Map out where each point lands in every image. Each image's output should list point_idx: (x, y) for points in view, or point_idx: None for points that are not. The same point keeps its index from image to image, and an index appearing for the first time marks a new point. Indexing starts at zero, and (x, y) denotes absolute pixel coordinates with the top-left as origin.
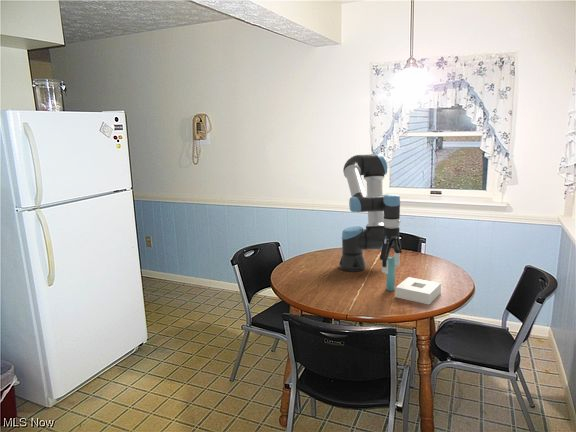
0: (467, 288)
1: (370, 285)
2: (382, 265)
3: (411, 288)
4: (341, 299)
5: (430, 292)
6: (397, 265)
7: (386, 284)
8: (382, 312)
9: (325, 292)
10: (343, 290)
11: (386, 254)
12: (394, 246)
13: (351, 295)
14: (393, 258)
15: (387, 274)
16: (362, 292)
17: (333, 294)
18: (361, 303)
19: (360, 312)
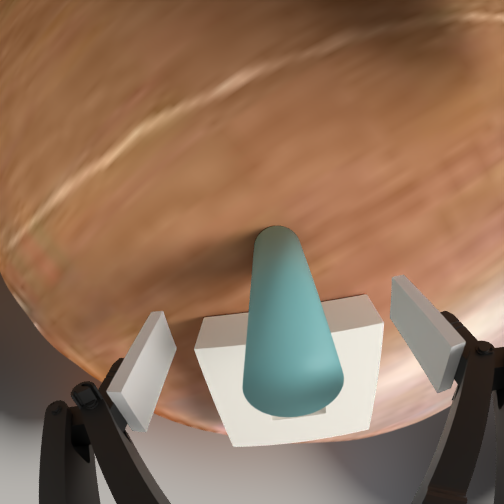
0: (432, 411)
1: (256, 122)
2: (111, 367)
3: (235, 399)
4: (31, 156)
5: (249, 445)
6: (392, 309)
7: (259, 243)
8: (73, 337)
9: (43, 54)
10: (98, 76)
11: (93, 478)
12: (431, 467)
13: (78, 150)
14: (301, 405)
15: (252, 284)
16: (138, 159)
17: (44, 91)
18: (57, 242)
19: (24, 284)
